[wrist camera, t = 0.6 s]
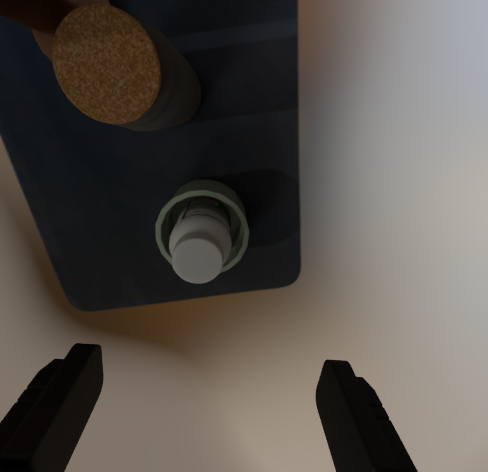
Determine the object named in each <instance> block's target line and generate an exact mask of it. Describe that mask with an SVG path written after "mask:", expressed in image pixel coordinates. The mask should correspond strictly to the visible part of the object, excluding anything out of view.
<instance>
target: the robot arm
mask: <svg viewBox="0 0 488 472" xmlns="http://www.w3.org/2000/svg"><path fill="white" fill-rule="evenodd" d="M102 385H103V364H102V351H101V346H100V345H97V344H96V345H95V344H81V343H77V344H75V345H74V346H73V347H72V348H71V350H70V351H69V353H68V354H67V356H66V357H65V358H64V359H54V360H53V361H52V362H50V363H49V364H48V365H46V366H45V367H44V368H42V369H41V370H40V371H39V372H38V373H37V374H36V376H35V377H34V378H33V380H32V381H31V382H30V384H29V385H28V386H27V389H26V390H24V392H23V393H22V394H21V396H20V397H19V399H18V401H17V403H15V404H14V405H13V406H12V408H11V409H10V411H9V412H8V413H7V415H6V416H5V417H4V419H3V420H2V421H1V423H0V472H64V471H65V469H66V466H67V465H68V462H69V460H70V458H71V456H72V454H73V451H74V449H75V447H76V445H77V443H78V441H79V439H80V436H81V434H82V432H83V430H84V428H85V426H86V424H87V422H88V419H89V417H90V415H91V413H92V411H93V409H94V406H95V404H96V402H97V400H98V398H99V395H100V392H101V389H102ZM316 405H317V409H318V413H319V416H320V419H321V423H322V426H323V429H324V433H325V436H326V439H327V442H328V446H329V449H330V452H331V456H332V459H333V462H334V466H335V469H336V472H418V471H417V469H416V468H415V466H414V464H413V462H412V460H411V458H410V456H409V454H408V452H407V451H406V449H405V447H404V445H403V443H402V441H401V439H400V437H399V435H398V434H397V432H396V430H395V428H394V426H393V424H392V422H391V421H390V420H389V417H388V415H387V413H386V411H385V409H384V408H383V407H382V403H381V401H380V400H379V398H378V396H377V394H376V392H375V390H374V389H373V388H372V387H371V386H370V385H369V384H368V383H367V382H366V381H365V379H364V378H363V377H356V376H355V374H354V372H353V369H352V367H351V365H350V364H349V362H347V361H341V360H326V361H325V362H324V365H323V368H322V372H321V375H320V378H319V382H318V385H317V388H316Z"/></svg>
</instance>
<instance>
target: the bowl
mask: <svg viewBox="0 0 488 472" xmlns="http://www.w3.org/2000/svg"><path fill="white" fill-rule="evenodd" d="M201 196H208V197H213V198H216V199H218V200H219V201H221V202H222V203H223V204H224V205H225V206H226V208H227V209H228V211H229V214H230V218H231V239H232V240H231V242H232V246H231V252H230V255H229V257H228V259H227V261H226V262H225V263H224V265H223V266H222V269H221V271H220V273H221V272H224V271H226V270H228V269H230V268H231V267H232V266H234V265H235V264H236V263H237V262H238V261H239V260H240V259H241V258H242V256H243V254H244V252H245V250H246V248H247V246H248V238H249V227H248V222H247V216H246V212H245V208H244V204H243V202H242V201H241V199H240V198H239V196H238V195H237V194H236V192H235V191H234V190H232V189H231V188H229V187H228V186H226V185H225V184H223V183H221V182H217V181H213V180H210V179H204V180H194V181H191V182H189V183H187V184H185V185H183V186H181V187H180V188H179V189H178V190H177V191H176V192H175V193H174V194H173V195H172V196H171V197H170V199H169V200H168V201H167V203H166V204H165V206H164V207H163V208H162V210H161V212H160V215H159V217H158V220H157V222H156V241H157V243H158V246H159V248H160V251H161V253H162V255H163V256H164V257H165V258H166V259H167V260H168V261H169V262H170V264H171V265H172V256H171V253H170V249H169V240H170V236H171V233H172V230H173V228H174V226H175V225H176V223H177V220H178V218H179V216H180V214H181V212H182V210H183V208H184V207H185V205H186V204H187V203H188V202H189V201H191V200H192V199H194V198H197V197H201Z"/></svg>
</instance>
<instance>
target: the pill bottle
mask: <svg viewBox="0 0 488 472" xmlns="http://www.w3.org/2000/svg"><path fill="white" fill-rule="evenodd" d="M231 240H232V239H231V218H230V214H229V211H228V209H227V208H226V206H225V205H224V204H223V203H222V202H221V201H219V200H218V199H216V198H213V197H208V196H201V197H197V198H194V199H192V200H191V201H189V202H188V203H187V204H186V205H185V207H184V208H183V210H182V212H181V214H180V216H179V218H178V220H177V223H176V225H175V226H174V228H173V230H172V233H171V236H170V240H169V249H170V253H171V256H172V266H173V269H174V270H175V272H176V273H177V275H178V276H180V277H181V278H182V279H184V280H185V281H188V282H191V283H197V284H200V283H206V282H209V281H211V280H213V279H214V278H215V277H216V276H217V275H218V274H219V273H220V271H221V269H222V266H223V265H224V263H225V262H226V261H227V259H228V257H229V255H230V252H231V246H232V242H231Z"/></svg>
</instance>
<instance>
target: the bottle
mask: <svg viewBox="0 0 488 472" xmlns="http://www.w3.org/2000/svg"><path fill="white" fill-rule="evenodd" d="M52 60H53V67H54V71H55V74H56V77H57V80H58V82H59V84H60V86H61V88H62V90H63V92H64V93H65V94H66V96H67V97H68V99H69V100H70V101H71V102H72V103H73V104H74V105H75V106H76V107H77V108H78V109H79V110H80V111H82V112H83V113H84V114H86V115H87V116H89V117H91V118H93V119H95V120H98V121H100V122H104V123H109V124H114V125H117V126H122V127H125V128H128V129H131V130H135V131H154V130H159V129H164V128H169V127H173V126H177V125H181V124H183V123H185V122H187V121H188V120H190V119H191V118H192V117H193V116H194V115H195V113H196V112H197V110H198V108H199V105H200V102H201V86H200V82H199V79H198V77H197V75H196V73H195V71H194V70H193V68H192V67H191V66H190V64H189V63H188V62H187V60H186V59H185V58H184V57H183V55H182V54H181V53H180V52H179V50H178V49H177V48H176V47H175V46H174V44H173V43H172V42H171V41H170V40H169V39H168V38H167V37H166V36H165V35H164V34H162V33H161V32H160V31H159V30H157V29H155V28H154V27H152V26H150V25H148V24H145V23H143V22H141V21H139V20H137V19H135V18H133V17H132V16H130V15H129V14H128V13H126V12H124V11H123V10H121V9H118V8H116V7H113V6H110V5H106V4H100V3H99V4H88V5H83V6H80V7H78V8H76V9H74V10H72V11H71V12H70V13H69V14H67V16H66V17H65V18H64V19H63V20H62V21H61V23H60V24H59V26H58V28H57V30H56V33H55V35H54V40H53V45H52Z"/></svg>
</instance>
